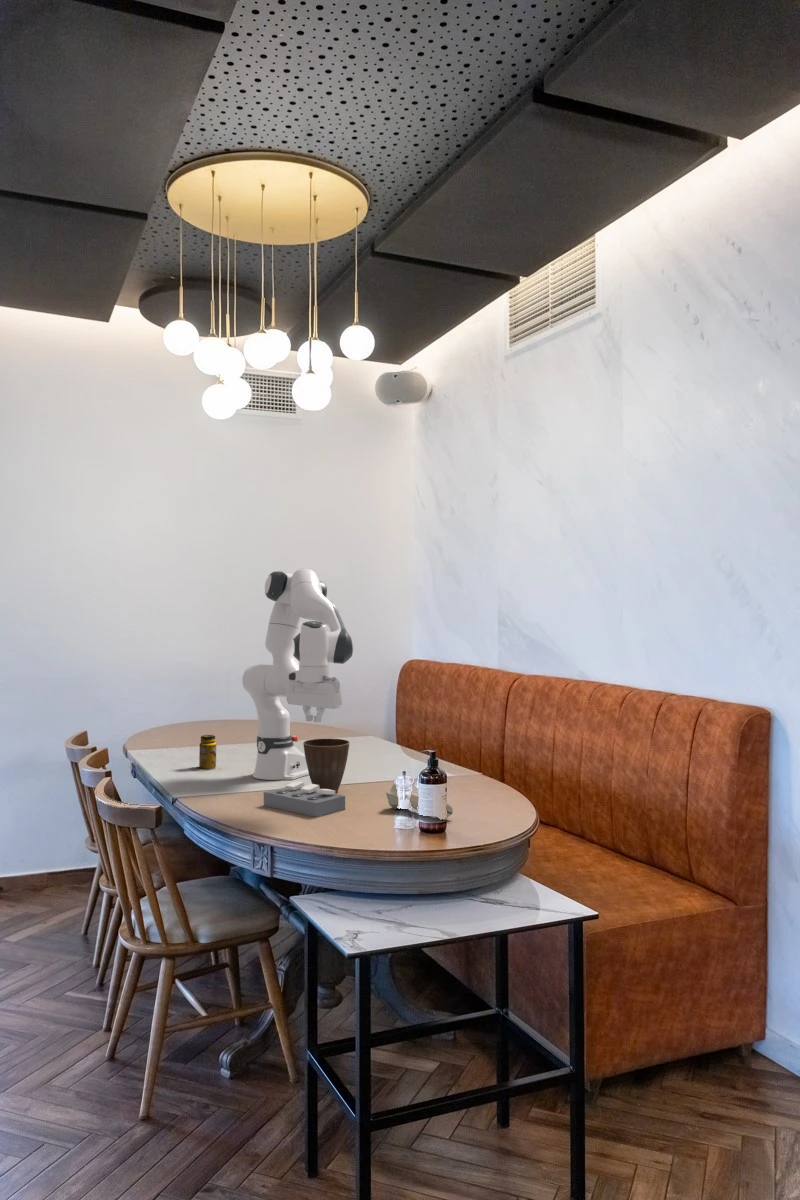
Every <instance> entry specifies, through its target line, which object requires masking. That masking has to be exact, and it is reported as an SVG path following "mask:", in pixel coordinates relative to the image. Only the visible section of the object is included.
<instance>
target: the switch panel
mask: <svg viewBox="0 0 800 1200" xmlns="http://www.w3.org/2000/svg"><path fill="white" fill-rule="evenodd" d="M301 788H303V786H302V787H300V788H299V789H295V790H290V789H286V786H285V787H281V788H277V789H271V790H267V791H264V792H263V806H264V807H269V808H273V809H278V810H283V811H287V812H292V813H296V814H299V815H300V814H301V815H305V816H310V817H314V818H318V817H322V816H327V815H329V814H334V813H337V812H338V813H339V812H341V811H344V810H346V796H345V795H343V794H339V793H335V794H330V795H326V794H321V793H318V792H316V790H315V791H314V792H311V793H305V792H301Z"/></svg>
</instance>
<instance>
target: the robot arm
mask: <svg viewBox="0 0 800 1200" xmlns="http://www.w3.org/2000/svg"><path fill="white" fill-rule="evenodd" d="M264 594H265V596H266V598H267V599H269V600H271V601H273V602H274V605H273V607H272V610H271V614H270V617H269V622H268V627H267V631H266V636H265V637H266V638H265V641H264V642H265V643H264V644H265V648H266V650H267V651H268V652H269V653H271V655H272V664H261V663H260V664H256V665H252V666H249V667H247V668H246V669H245V671H244V672H243V675H242V680H241V681H242V686H243V688H244V690H245V691H246V692H247V693H248V694H249V695H250V697H251V699H252V700H253V703H254V706H255V709H256V713H257V729H258V730H257V736H256V748H257V751H256V752H257V753H256V759H255V760H256V762H255V765H254V771H253V776H252V777H253V778H255V779H258V780H267V781H268V780H269V781H272V780H273V781H274V780H275V781H276V780H280V781H282V780H286V781H287V780H288V781H289V780H290V781H291V780H295V779H298V778H302V777H305V776H309V772H308V768H307V764H306V758H305V753H303V752H302V751H301V750H300V749H298V748H297V747H296V746H295V745H294V742H295V743H296V742H297V743H298V742H299V739H300V737H299V736H298V735H292V736H291V734H290V733H291V731H290V730H291V729H290V728H291V715H290V712H289V710H288V709H286V708H285V707H284V706H283V704H282V702H281V700H280V698H285V701H286V703H287V704H288V705H295V706H302V711H303V713H304V715H305V721H306V722H314V723H321V722H322V716H323V715H324V712H325V711H326V710H325V709H330V710H336V709H340V708H341V706H342V689H341V687H340V686H341V684H340V681H339V680H338V679H337V677H335V676H329V674H330V673H329V669H330V667H329V664H332V663H333V664H342V665H344V664H345V663H346V662H348V661H349V660H350V659H351V658H352V657H353V652H354V644H353V640H352V637H351V634H350V633H348V631H347V629H346V627H345V623H344V621H343V619H342V617H341V614H340V611H339V610H338V608H337V606H336V604H335V603H334V602H333V601H332V600H329V598H328V597H327V596H328V588H327V584H326V583H325V582H324V581H321V580H320V579H319V577H318V575H317V573H316V571H314V570H312V569H310V568H305V567H304V568H300V569H297V570H295V571H294V573H289V572H283V571H281V570H280V571H279V570H278V571H272V572H271V573H269V575H268V576H267V578H266V580H265V583H264ZM301 619H305V620H309V621H305V622H303V623H301ZM328 628H329V630H330V631H328ZM312 707H313V708H316V711H317V712H316V715H314V714H312V713H311V708H312Z"/></svg>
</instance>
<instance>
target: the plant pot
mask: <svg viewBox="0 0 800 1200" xmlns="http://www.w3.org/2000/svg"><path fill="white" fill-rule="evenodd" d="M302 744H303V752H304V755H305V758H306V764H307V768H308V772H309V775H308V776H309V779H310V782H311V784H316V785H319V787H320V788H319V789H330V790H335V794H337V793H338V792H339V789H340V786H341V783H342V780H343V777H344V773H345V770H346V765H347V761H348V756H349V749H350V741H349V740H348V739H347V740H346V739H339V738H315V739H314V738H313V739H309V740H305V741H303V743H302Z"/></svg>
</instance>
